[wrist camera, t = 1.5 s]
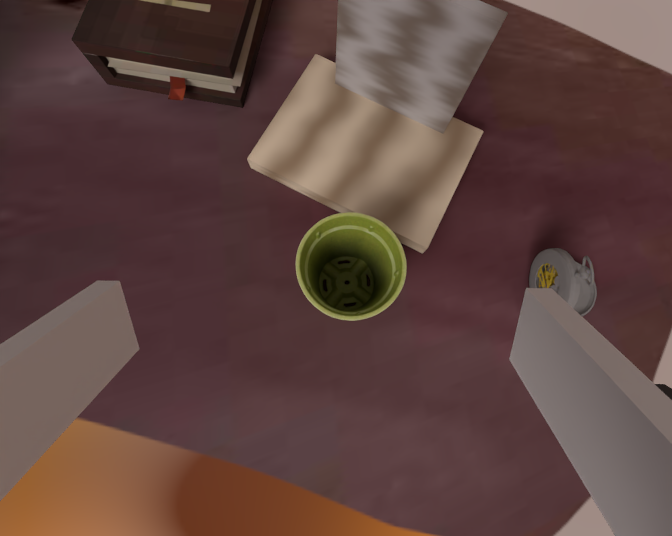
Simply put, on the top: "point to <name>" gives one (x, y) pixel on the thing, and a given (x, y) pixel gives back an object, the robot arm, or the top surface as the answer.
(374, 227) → the plant pot
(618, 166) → the top surface
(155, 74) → the decorative book
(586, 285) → the pocket watch
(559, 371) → the robot arm
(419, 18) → the shelf board
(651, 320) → the top surface
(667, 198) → the top surface
